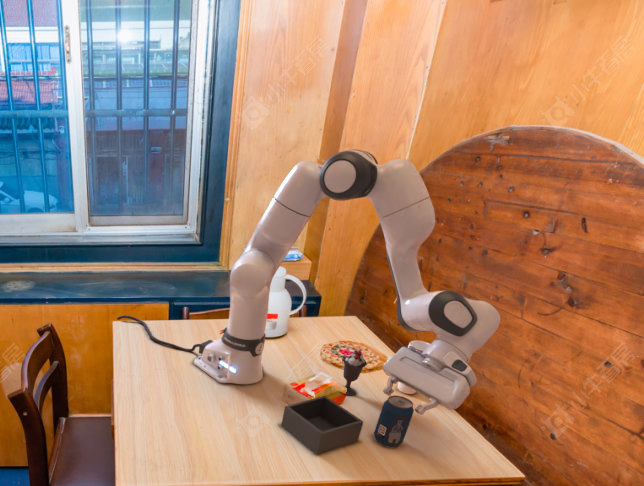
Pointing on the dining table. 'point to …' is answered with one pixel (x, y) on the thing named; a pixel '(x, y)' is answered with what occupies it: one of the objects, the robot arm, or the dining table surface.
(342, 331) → the dining table surface
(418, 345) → the white tall cylinder
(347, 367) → the sundae
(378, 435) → the soda can
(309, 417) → the tub
